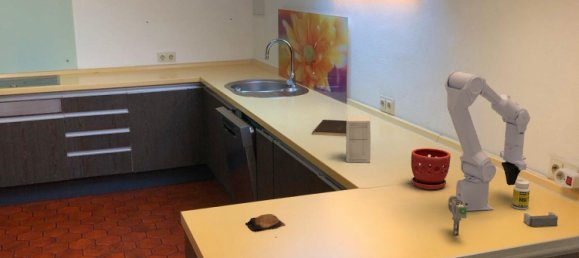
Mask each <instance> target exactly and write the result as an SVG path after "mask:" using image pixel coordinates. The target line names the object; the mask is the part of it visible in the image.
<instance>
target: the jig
mask: <svg viewBox="0 0 579 258" xmlns="http://www.w3.org/2000/svg"><path fill="white" fill-rule="evenodd" d="M558 218H559V217H558V215H556V214H555V213H554V212H553V211H549V212H548V215H546V214H545V215H530V214H529V213H528V212H526V213H523V223H525V224H526V225H528V226H529V227H530V226H531V228H535V227H536V228H537V227H538V228H539V227H541V228H542V227H555V226H556V227H557V226H558V220H559V219H558Z"/></svg>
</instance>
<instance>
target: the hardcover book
mask: <svg viewBox="0 0 579 258" xmlns="http://www.w3.org/2000/svg"><path fill="white" fill-rule="evenodd" d="M346 124H347V120H339V119H322V120H321V122H319V124H318V125H317V126H316V127H315V128H314V129H313V130H312V132H311V135H315V136H316V135H318V136H331V137H333V136H334V137H346Z"/></svg>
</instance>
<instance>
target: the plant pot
mask: <svg viewBox="0 0 579 258" xmlns="http://www.w3.org/2000/svg"><path fill="white" fill-rule="evenodd" d="M450 164H451V153H450V152H449V151H446V150H443V149H439V148H432V147H431V148H427V147H425V148H424V147H423V148H421V147H420V148H416V149H413V150H412V151H411V156H410V166H411V168H410V169H411V172H412V174H413V177H412V178H411V182H412V184H413V185H414V186H416V187H418V188H419V189H424V190H437V189H438V190H439V189H441V188H444V186H446V184H447V180H446V177H447V176H448V174H449V169H450V166H451V165H450Z"/></svg>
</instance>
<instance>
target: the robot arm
mask: <svg viewBox="0 0 579 258" xmlns="http://www.w3.org/2000/svg"><path fill="white" fill-rule="evenodd" d="M444 86H445V90H446V93H447V99H446V100H447V103H446V104H447V106H446V107H447V110H448V114H449V116H450V118H451V121H452V125H453V128H454V131H455V133H456V136H457V139H458V141H459V144H460V146H461V149H462V154H461V155H460V156H459V159H460V170H461V172H462V173H463V179H459V180H457V182H456V185H455V186H456V188H455V191H456V192H455V196H456V197H457V198H458V200H462V201H463V202H464V203H465V205H466V206H467V212H471V211H489V210H490V211H491V210H493V209H494V208H493V207H492V206H491V205H490V204H489V190H490V182H492V180H493V179H494V178H495V176H496V173H497V167H496V164H495V163H494V162H492V160H491V157H490V156H489V155H488V154H487V153H485V152H484V150H483V148H482V145H481V143H480V139H479V138H478V134H477V131H476V128H475V125H474V123H473V119H472V116H471V113H470V111H469V107H471V106H472V105H473V104H474V102H475V101H476V99H478V97H479V96H480V97H482V98H484V99H485V100H486V101H487V102H489V103H490V106H491V109H492V110H493V111H494V112H495V113H497V114H498V115H500V117H501V119H502V121H503V122H504V123H505V130H504V131H505V133H504V143H503V144H504V145H503V146H504V147H503V148H504V149H503V150H500V151H499V157H500V158H501V159H502V161H501V167H502V168H503V171H504V175H505V182H506V184H507V185H508V186H515V183H516V180H518V177H519V175H520V173H521V171H526V170H527V163H526V162H525V160H526V159H527V158H526V156H524V141H525V132H526V131H527V127H528V124H529V123H530V120H531V116H530V114H529V112H528V110H527V109H526V108H522V107H520V106H519V103H518V102H514V101H513V100H512V99H511V95H509V94H506V93H504V94H503V93H501V94H499V93H498V92H497V91H496V90H495V89H494V88H493V87H492V86H491V85H490V84H489V83H488V82H487V80H486V79H485V78H484V77H482V76H481V75H479V74H473V73H468V72H463V71H459V70H453V71H451V72H450V73H449V74H448V76H447V78H446V80H445V83H444Z"/></svg>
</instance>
